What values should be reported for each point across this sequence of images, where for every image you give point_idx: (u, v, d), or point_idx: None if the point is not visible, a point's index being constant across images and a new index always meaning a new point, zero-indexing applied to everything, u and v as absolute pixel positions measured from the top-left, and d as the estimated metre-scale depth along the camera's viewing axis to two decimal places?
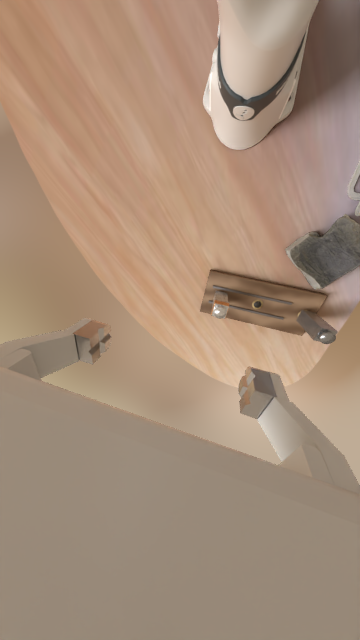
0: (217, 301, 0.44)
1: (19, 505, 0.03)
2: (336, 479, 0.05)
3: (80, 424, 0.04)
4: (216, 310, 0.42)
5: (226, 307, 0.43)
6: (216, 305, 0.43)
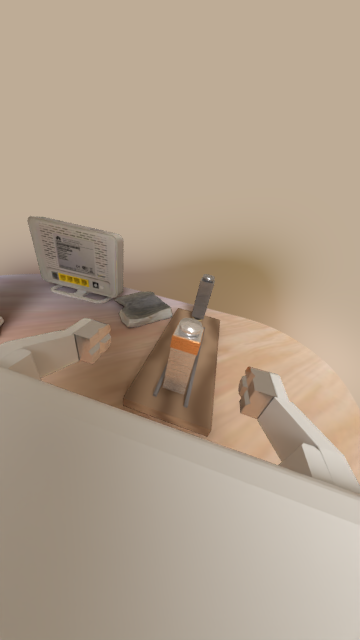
0: None
1: (19, 504, 0.03)
2: (336, 479, 0.05)
3: (80, 424, 0.04)
4: (186, 326, 0.22)
5: None
6: (178, 333, 0.22)
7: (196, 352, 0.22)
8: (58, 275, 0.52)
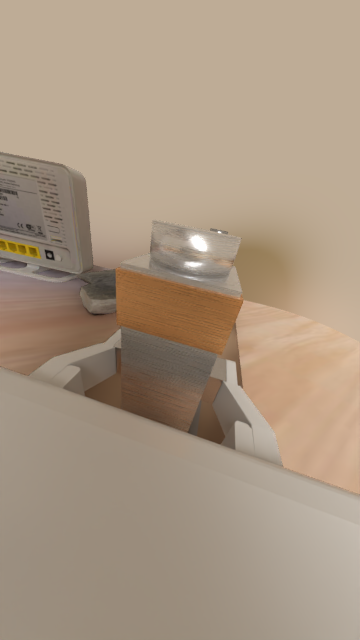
0: None
1: (19, 504, 0.03)
2: (259, 452, 0.05)
3: (80, 424, 0.04)
4: (175, 225, 0.05)
5: None
6: (142, 262, 0.05)
7: (220, 342, 0.05)
8: None
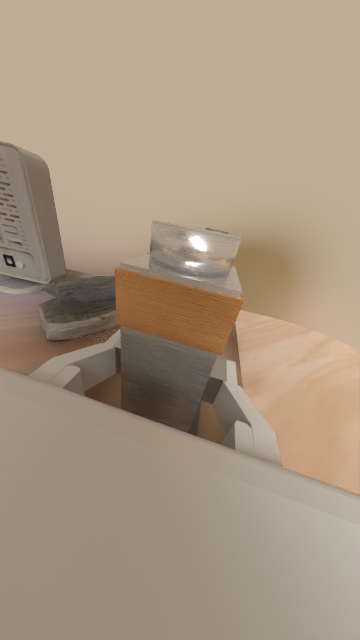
0: None
1: (19, 504, 0.03)
2: (259, 452, 0.05)
3: (80, 424, 0.04)
4: (175, 225, 0.05)
5: None
6: (142, 262, 0.05)
7: (220, 342, 0.05)
8: None
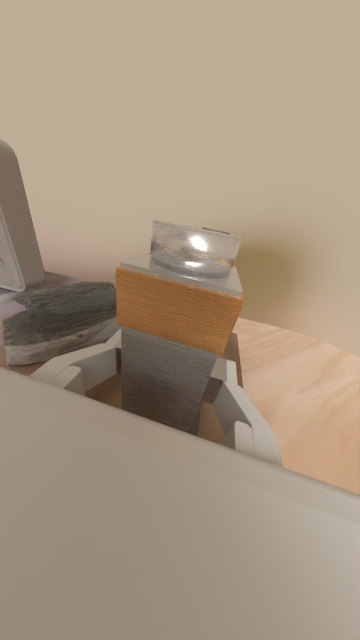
0: None
1: (19, 505, 0.03)
2: (259, 452, 0.05)
3: (80, 424, 0.04)
4: (176, 225, 0.05)
5: None
6: (142, 262, 0.05)
7: (221, 342, 0.05)
8: None
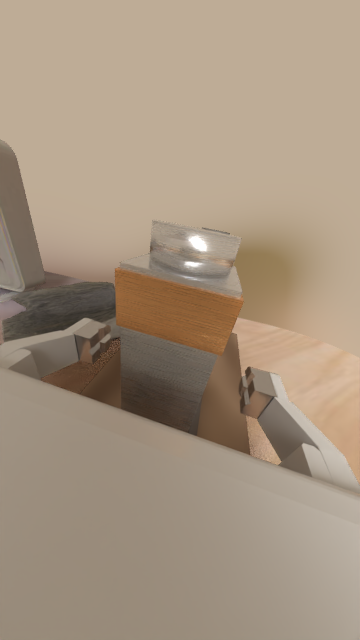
0: None
1: (19, 505, 0.03)
2: (336, 479, 0.05)
3: (80, 424, 0.04)
4: (175, 225, 0.05)
5: None
6: (142, 262, 0.05)
7: (220, 343, 0.05)
8: None
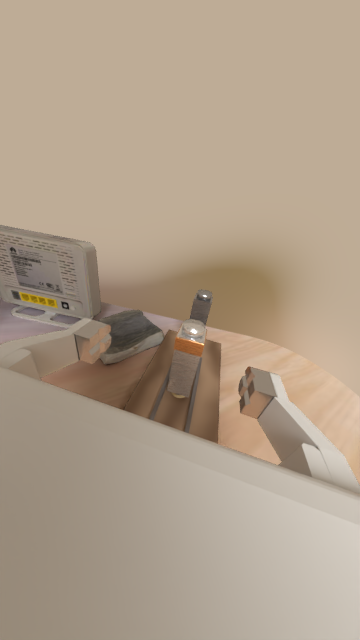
0: None
1: (19, 505, 0.03)
2: (336, 479, 0.05)
3: (80, 424, 0.04)
4: (189, 327, 0.21)
5: None
6: (181, 334, 0.22)
7: (200, 353, 0.22)
8: (19, 294, 0.42)
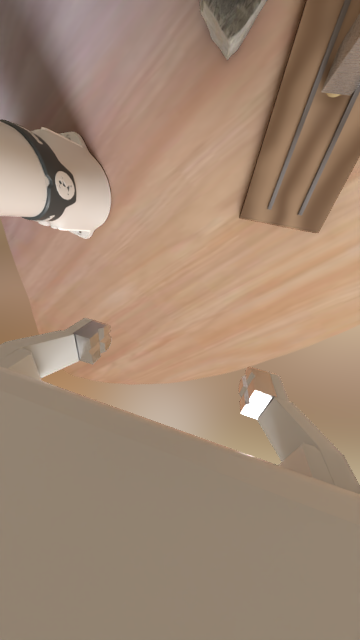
0: None
1: (19, 505, 0.03)
2: (336, 479, 0.05)
3: (80, 424, 0.04)
4: None
5: None
6: None
7: None
8: None
